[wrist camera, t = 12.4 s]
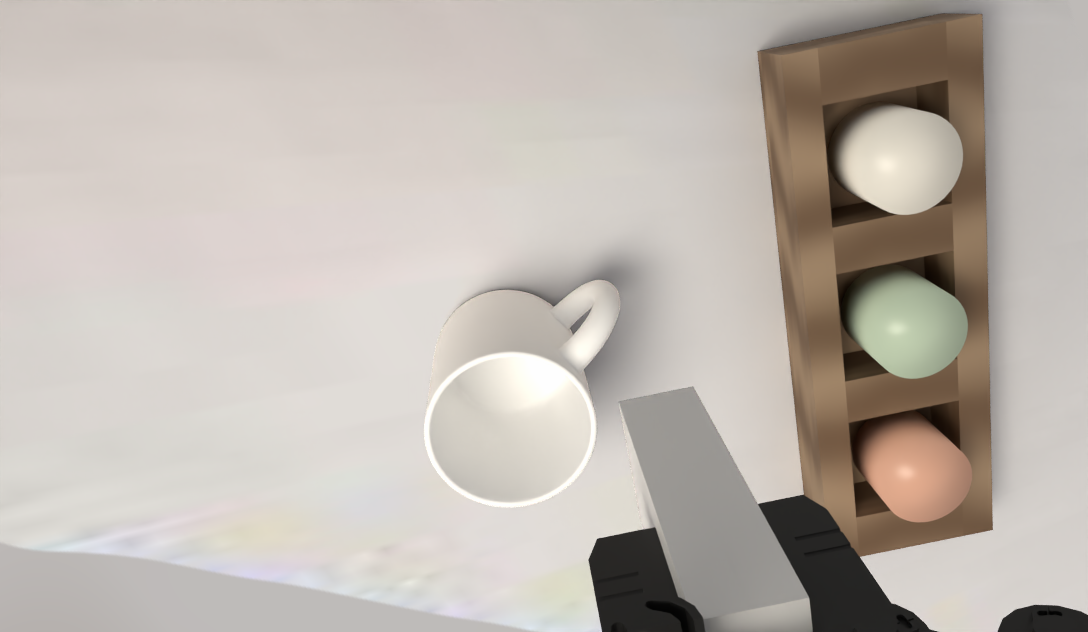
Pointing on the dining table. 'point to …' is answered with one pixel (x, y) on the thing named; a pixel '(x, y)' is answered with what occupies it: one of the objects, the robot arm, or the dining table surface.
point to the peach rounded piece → (912, 466)
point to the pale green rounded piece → (904, 321)
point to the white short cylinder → (895, 157)
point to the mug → (516, 393)
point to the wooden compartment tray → (879, 261)
